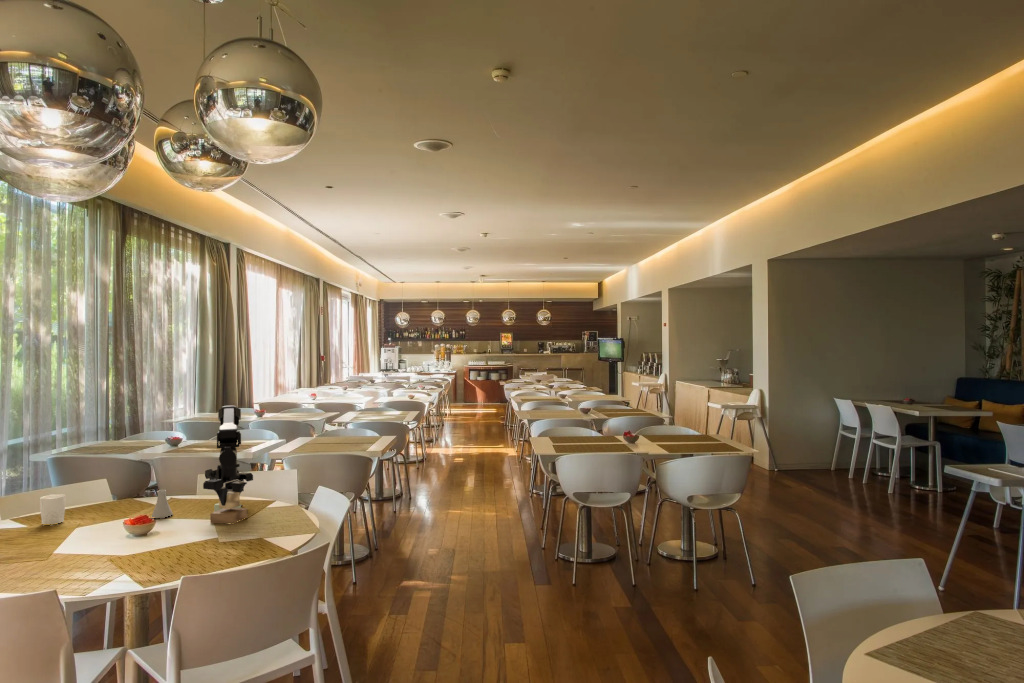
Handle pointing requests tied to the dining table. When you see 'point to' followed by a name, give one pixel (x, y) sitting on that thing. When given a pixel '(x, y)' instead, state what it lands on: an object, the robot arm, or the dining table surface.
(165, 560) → the dining table surface
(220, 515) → the base block
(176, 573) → the dining table surface
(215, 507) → the block
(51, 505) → the white cup
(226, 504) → the oak cube
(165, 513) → the flask
